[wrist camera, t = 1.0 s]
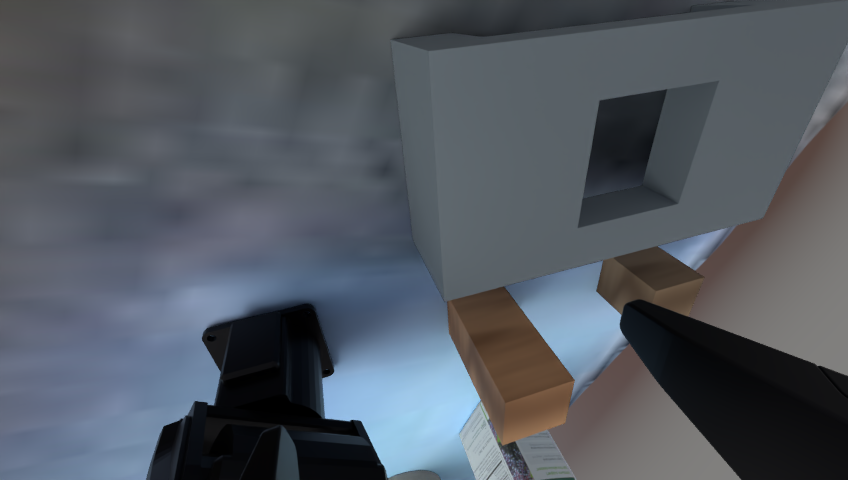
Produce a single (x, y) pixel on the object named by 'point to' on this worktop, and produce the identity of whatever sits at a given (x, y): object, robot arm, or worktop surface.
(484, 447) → the syrup box
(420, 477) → the grey pitcher
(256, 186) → the worktop surface
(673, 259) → the short pin
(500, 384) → the long pin
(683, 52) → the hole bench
